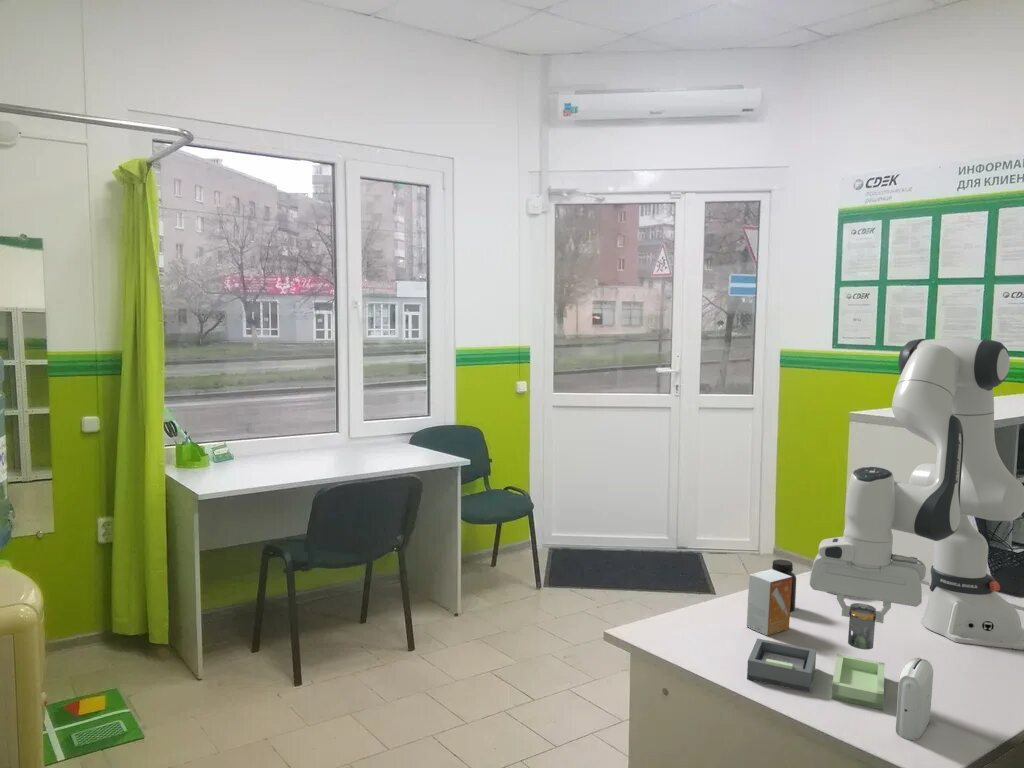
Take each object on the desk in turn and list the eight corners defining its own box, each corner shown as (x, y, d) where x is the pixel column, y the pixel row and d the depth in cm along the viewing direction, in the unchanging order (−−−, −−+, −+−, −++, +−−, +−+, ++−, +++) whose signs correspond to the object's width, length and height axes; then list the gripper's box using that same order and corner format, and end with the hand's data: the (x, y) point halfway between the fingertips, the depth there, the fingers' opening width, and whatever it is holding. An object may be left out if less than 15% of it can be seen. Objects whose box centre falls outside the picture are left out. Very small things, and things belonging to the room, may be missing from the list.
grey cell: (873, 642, 156) (876, 604, 155) (873, 651, 152) (876, 611, 151) (848, 637, 158) (850, 599, 157) (846, 646, 154) (849, 607, 153)
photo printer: (918, 744, 136) (923, 675, 135) (892, 735, 139) (896, 668, 137) (932, 721, 144) (937, 656, 142) (907, 712, 146) (911, 649, 145)
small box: (767, 636, 180) (770, 582, 179) (745, 627, 185) (748, 573, 184) (790, 629, 184) (793, 576, 183) (767, 620, 190) (770, 568, 188)
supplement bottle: (771, 601, 202) (773, 556, 201) (798, 607, 198) (800, 561, 197) (762, 608, 197) (765, 562, 196) (790, 615, 193) (792, 568, 192)
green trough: (883, 677, 161) (884, 663, 160) (882, 709, 147) (883, 694, 147) (836, 667, 165) (837, 653, 164) (831, 698, 151) (832, 683, 151)
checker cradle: (815, 668, 164) (816, 647, 164) (809, 692, 153) (810, 670, 153) (756, 656, 169) (757, 635, 169) (746, 679, 159) (748, 657, 158)
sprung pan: (804, 663, 163) (804, 659, 163) (800, 679, 156) (800, 675, 156) (764, 655, 167) (765, 651, 167) (758, 670, 159) (759, 666, 159)
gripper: (926, 554, 152) (920, 623, 153) (813, 539, 161) (809, 604, 162) (927, 563, 146) (921, 634, 147) (810, 546, 155) (806, 614, 156)
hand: (862, 618), depth 155 cm, fingers closed on grey cell, 5 cm apart
